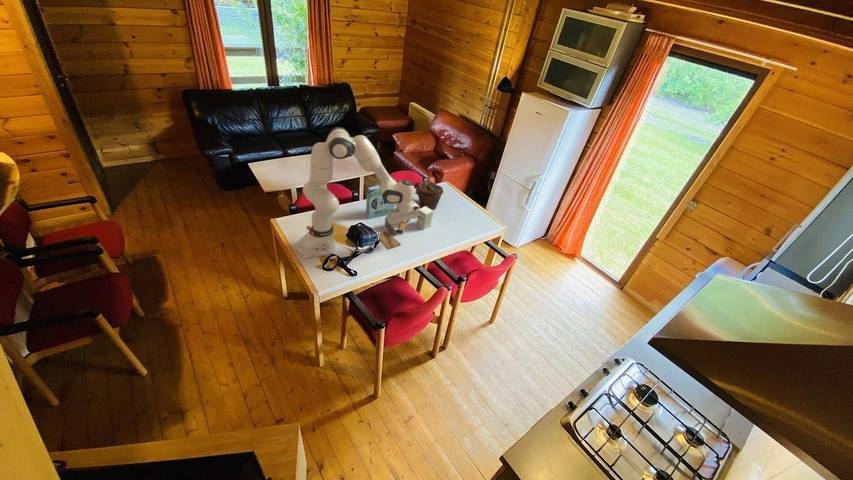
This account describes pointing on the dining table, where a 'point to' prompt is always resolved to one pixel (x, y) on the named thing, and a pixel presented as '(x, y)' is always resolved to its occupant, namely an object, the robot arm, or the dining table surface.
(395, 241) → the brown wooden board
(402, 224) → the yellow block
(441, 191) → the brown plant pot
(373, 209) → the gum box
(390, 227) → the dispenser
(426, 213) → the supplement box
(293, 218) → the dining table surface
